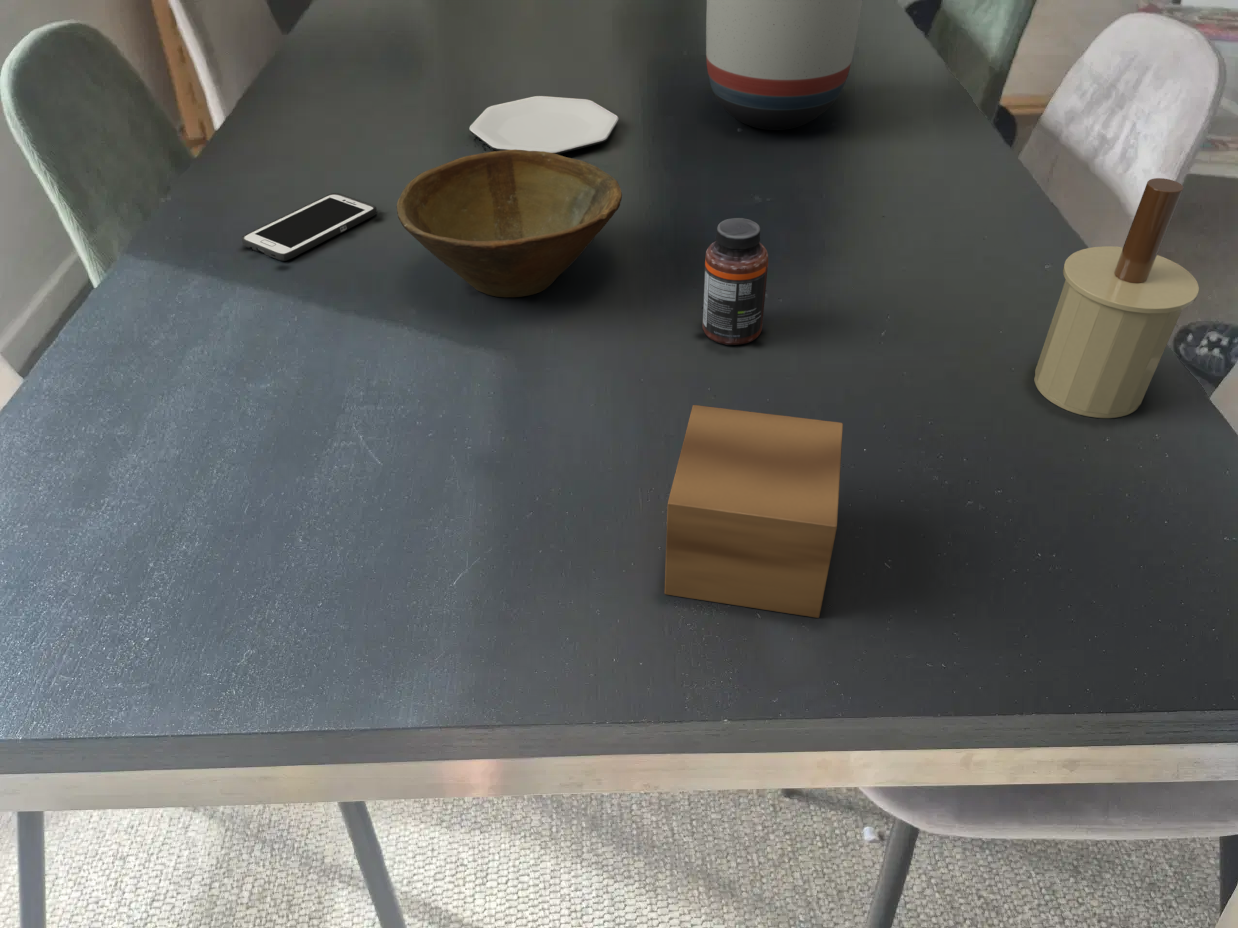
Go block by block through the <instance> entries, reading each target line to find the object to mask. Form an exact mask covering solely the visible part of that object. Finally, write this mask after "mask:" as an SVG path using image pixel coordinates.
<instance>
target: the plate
mask: <svg viewBox="0 0 1238 928" xmlns="http://www.w3.org/2000/svg"><path fill="white" fill-rule="evenodd" d="M619 121H620V120H619V116H618V115H617V114H615V113H613V112H611V111H609V110H608V109H606V108H605V107H603V106H601V105H599V104H598V103H596V102H595V101H593V100H590V99H587V98H572V97H562V96H561V97H560V96H559V97H558V96H547V95H546V96H545V95H536V96H535V95H534V96H530V97H526V98H521V99H516V100H512V101H507V102H503V103H499V104H494V105H490V106H488V107H486V108H485V109H484V110H483V111H482V112H481V114H479V116H478V117H477V118H476V119H475V120H474V121H473V122H472V123H471V124H470V125H469V132H470V133H471V134H472V135H474V136H475V137H476V138H477V139H479V140H480V141H482V142H483V143H484V144H486V145H487V146H488V147H489V148H491V149H492V150H493V151H503V150H515V149H516V150H526V151H543V152H549V153H554V154H558V155H561V154H563V153H569V152H572V151H575V150H579V149H580V150H581V149H584V148H588V147H591V146H596V145H600V144H603V143H605V142H607V141H608V139H609V137H610V136H611V134H612V132H613V131H614V129H615V127H616V125H617V124H618V122H619Z"/></svg>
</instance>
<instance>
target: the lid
mask: <svg viewBox="0 0 1238 928" xmlns="http://www.w3.org/2000/svg"><path fill="white" fill-rule="evenodd" d="M1183 192H1184V185H1183V184H1182V183H1180V182H1178V181H1176V180H1173V179H1169V178H1163V177H1157V178H1151V179H1148V180H1147V182H1146V184H1145V186H1144V190H1143V193H1142V195H1141V198H1140V201H1139V203H1138V205H1137V209H1136V211H1135V214H1134V216H1133V220H1132V222H1131V225H1130V228H1129V229H1128V233H1127V236H1126V239H1125V240H1124V243H1123V246H1112V245H1111V246H1110V245H1109V246H1108V245H1107V246H1106V245H1105V246H1103V245H1102V246H1091V247H1087V248H1083V249H1080V250H1077V251H1075V252H1073V253H1072V254H1070V255H1069V256H1068V257H1067V258H1066V259H1065V261H1064V264H1063V267H1062V274H1063V277H1064V279H1065V280H1066V281H1067V282H1068V284H1069V285H1070V286H1071V287H1072V288H1073V289H1075V290H1076V291H1077V292H1079V293H1080V294H1082V295H1083V296H1085V297H1087V298H1089V299H1091V300H1093V301H1095V302H1098V303H1100V304H1103V305H1106V306H1109V307H1112V308H1116V309H1120V310H1124V311H1130V312H1137V313H1149V314H1159V313H1170V312H1175V311H1179V310H1182V311H1183V310H1184V309H1186V308H1188V307H1189V306H1191V305H1192V304H1194V302H1195V301H1196V299H1197V297H1198V295H1199V292H1200V286H1199V283H1198V281H1197V279H1196V278H1195V277H1194V276H1193V274H1192V273H1191V272H1190V271H1188V270H1187V269H1186V268H1184V267H1183V266H1182V265H1180V264H1179V263H1176V262H1175V261H1173V260H1170V259H1169V258H1166V257H1164V256H1162V255H1159V252H1160V250H1161V247H1162V245H1163V242H1164V239H1165V236H1166V234H1167V232H1168V229H1169V227H1170V224H1171V221H1172V219H1173V217H1174V214H1175V211H1176V209H1177V206H1178V204H1179V202H1180V199H1181V197H1182V194H1183ZM1065 280H1064V281H1065Z"/></svg>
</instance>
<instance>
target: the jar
mask: <svg viewBox="0 0 1238 928" xmlns="http://www.w3.org/2000/svg"><path fill="white" fill-rule="evenodd" d="M1182 311H1183V309H1182V310H1179V311H1175V312H1170V313H1159V314H1149V313H1137V312H1130V311H1124V310H1120V309H1116V308H1112V307H1109V306H1106V305H1103V304H1100V303H1098V302H1095V301H1093V300H1091V299H1089V298H1087V297H1085V296H1083V295H1082V294H1080V293H1079V292H1077V291H1076V290H1075V289H1073V288H1072V287H1071V286H1070V285H1069V284H1068V282H1067V281H1066V280H1064V283H1063V286H1062V289H1061V293H1060V296H1059V298H1058V302H1057V305H1056V308H1055V310H1054V314H1053V316H1052V319H1051V322H1050V325H1049V329H1048V331H1047V334H1046V337H1045V340H1044V343H1043V346H1042V349H1041V352H1040V355H1039V358H1038V360H1037V364H1036V367H1035V370H1034V377H1033V378H1034V384H1035V387H1036V388H1037V390H1038V392H1039V393H1040V394H1041V395H1042V396H1043V397H1044V398H1045V399H1046V400H1047V401H1049V402H1051V403H1052V404H1053V405H1055V406H1057V407H1059V408H1061V409H1063V410H1065V411H1067V412H1071V413H1073V414H1077V415H1079V416H1084V417H1087V418H1096V419H1097V418H1098V419H1116V418H1121V417H1125V416H1129V415H1130V414H1132V413H1134V412H1135V411H1137V410H1138V409H1139V408H1140V406H1141V405H1142V403H1143V401H1144V398H1145V395H1146V393H1147V391H1148V389H1149V387H1150V384H1151V382H1152V380H1153V377H1154V375H1155V373H1156V370H1157V369H1158V366H1159V364H1160V361H1161V359H1162V358H1163V357H1162V356H1163V355H1164V352H1165V350H1166V347H1167V345H1168V343H1169V342H1170V341H1169V340H1170V338H1171V336H1172V334H1173V331H1174V329H1175V327H1176V324H1178V323H1177V322H1178V320H1179V317H1180V316H1181V314H1182Z"/></svg>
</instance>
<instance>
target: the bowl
mask: <svg viewBox="0 0 1238 928" xmlns="http://www.w3.org/2000/svg"><path fill="white" fill-rule="evenodd" d="M622 198H623V193H622V189H621V187H620V184H619V182H618V180H617V179H616V178H615V177H613V176H612V175H610V174H609V173H608V172H606V171H604V170H602V169H601V168H599V167H598V166H596V165H594V164H592V163H589V162H587V161H584V160H581V159H576V158H571V157H566V156H563V155H561V154H554V153H549V152H543V151H526V150H516V149H515V150H503V151H498V150H493V151H486V152H481V153H475V154H471V155H465V156H461V157H459V158H456V159H453V160H450V161H447V162H445V163H443V164H440V165H438V166H434V167H432V168H429V169H428V170H425V171H423V172H421V173H419V174H417V175H415V177H414V178H413V179H411V180H410V182H408V183H407V184H406V186H405V187H404V188H403V189H402V191H401V193H400V195H399V197H398V199H397V202H396V207H395V208H396V214H397V218H398V220H399V222H400V223H401V225H402V227H403V228H404V229H405V230H406V231H407V232H408V233H409V234H410V235H411V236H412V237H413V238H414V239H415V240H416V241H417V242H418V243H420V244H421V245H422V246H423V247H424V248H425V249H426V250H427V251H428V252H429V253H430V254H432V255H433V256H434V257H435V258H437V259H438V260H439V261H440V262H442V263H443V264H444V265H446V267H448V268H450V269H451V270H452V271H453V272H454V273H455V274H457V275H458V276H459V277H460V278H461V279H462V280H464V281H465V282H466V283H467V284H468V285H470V286H471V287H473V289H475V290H476V291H477V292H479V293H483V294H485V295H487V296H493V297H497V298H521V297H522V298H523V297H528V296H533V295H537V294H540V293H542V292H543V291H545V290H546V289H548V288H549V287H550V286H551V285H552V284H553V283H554V282H555V281H556V280H557V279H558V278H559V277H560V275H561V274H563V273H564V272H565V271H566V270H567V269H569V267H570V266H571V265H572V264H573V263H574V262H575V261H576V260H577V259H578V257H580V255H581V254H582V253H583V252H584V251H585V249H586V248H587V247H588V246H589V245H590V243H592V241H593V240H594V239H595V238H596V236H597V235H599V233H600V232H602V230H603V229H604V228H605V226H606V225H607V223H609V221H610V220H611V219H612V218H613V216H615V213H616V212H617V211H618V210H619V208H620V206H621V203H622Z"/></svg>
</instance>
